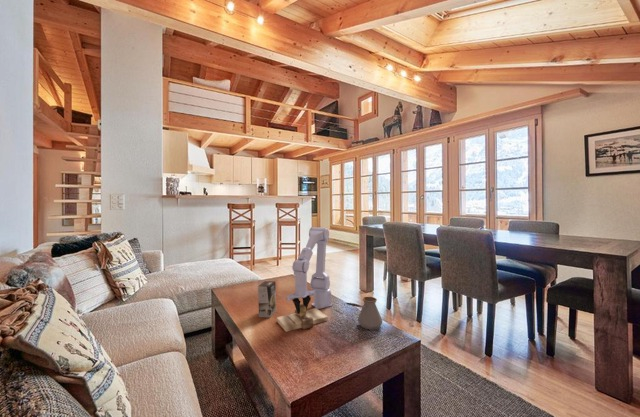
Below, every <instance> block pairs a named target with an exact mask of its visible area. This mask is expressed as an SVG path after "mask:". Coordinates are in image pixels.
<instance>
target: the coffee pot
mask: <svg viewBox="0 0 640 417" xmlns="http://www.w3.org/2000/svg"><path fill="white" fill-rule="evenodd" d="M377 300H378V299H377V298H376V297H373V296H364V297H363V298H362V301H363V305H361V304H357V303H354V302H353V303H352V302H345V303H344V304H343V305H344V307H345V308H348V306H352V307H357V308H361V310H360V312H359V314H358V317H357V322H358V324H359V325H360V326H361V327H362V329H364V328H366V329H365V330H367V329H369V331H374V329H375V330H377V329H379V328H380V327H381V326H382V324H383V318H382V316H381V314H380V311H379V310H378V307H377V304H376V302H377ZM346 305H347V307H346Z"/></svg>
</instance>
